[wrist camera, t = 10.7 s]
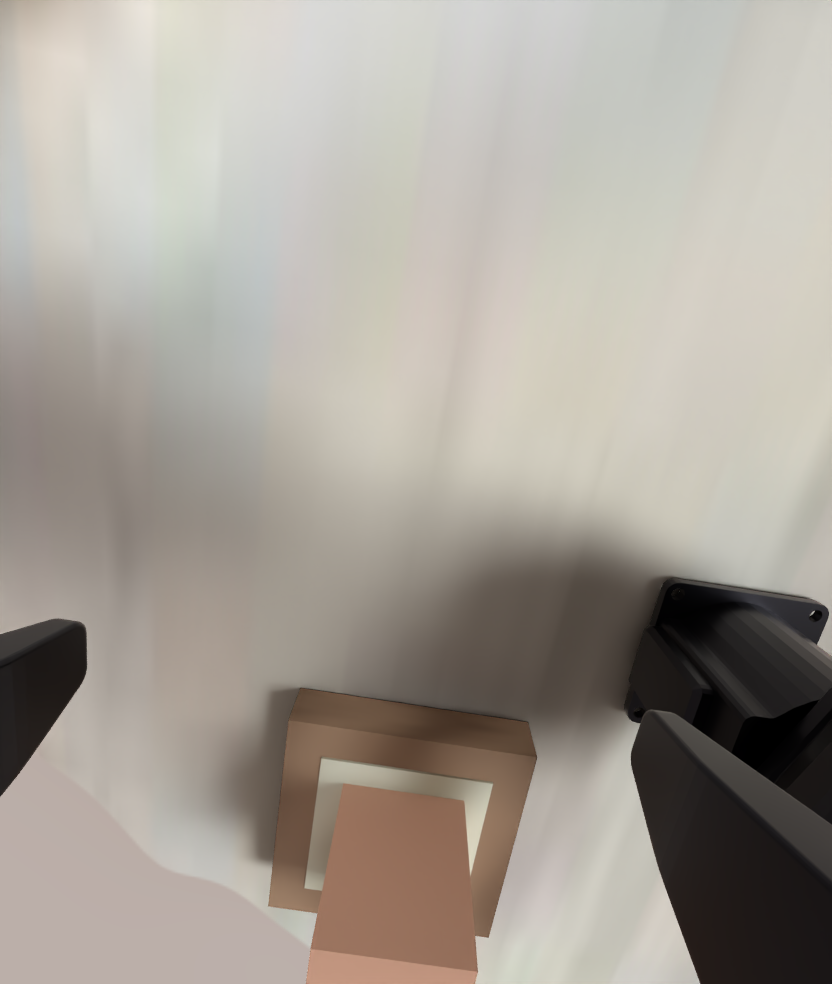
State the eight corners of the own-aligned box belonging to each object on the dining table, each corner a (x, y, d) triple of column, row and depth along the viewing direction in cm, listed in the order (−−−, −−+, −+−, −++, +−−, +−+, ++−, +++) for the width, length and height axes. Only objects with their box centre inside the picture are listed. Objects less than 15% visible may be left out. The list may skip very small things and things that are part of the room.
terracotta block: (464, 800, 21) (477, 971, 15) (444, 891, 22) (449, 1080, 17) (343, 783, 21) (310, 948, 15) (329, 875, 22) (295, 1059, 16)
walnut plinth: (527, 722, 22) (537, 759, 20) (483, 892, 25) (488, 940, 23) (300, 688, 22) (287, 722, 20) (280, 862, 25) (267, 908, 23)
